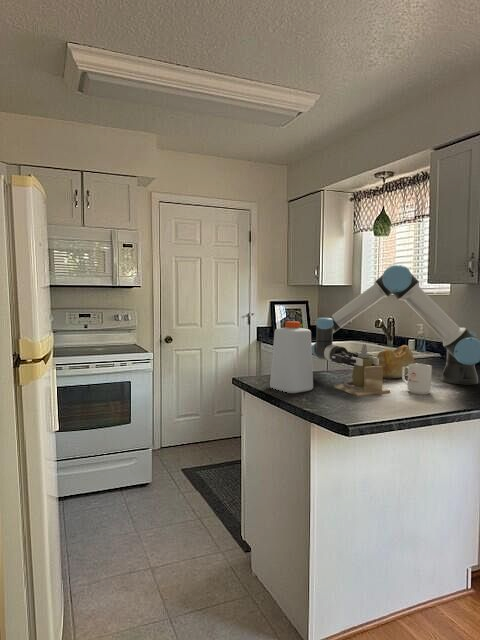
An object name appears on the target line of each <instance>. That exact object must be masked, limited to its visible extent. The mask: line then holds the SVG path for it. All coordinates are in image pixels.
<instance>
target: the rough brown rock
mask: <svg viewBox="0 0 480 640" xmlns="http://www.w3.org/2000/svg"><path fill="white" fill-rule="evenodd" d="M376 358H379V365H376V364H373V366H383V379H385V380H390V379H399V378H402V367H408V365H409V364H415V358H414V354H413V352H412V350H411V349H410V347H409V345H407V344H403V345H401V346H399V347H396V349H395V350H391V349H385V350H381V351H379V352H378V354H377V356H376ZM405 376H408V368H405Z"/></svg>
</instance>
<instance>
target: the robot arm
mask: <svg viewBox="0 0 480 640" xmlns="http://www.w3.org/2000/svg"><path fill="white" fill-rule="evenodd" d="M391 295H393V296H394V297H395V298H396V299H397V300H398V301H404V302H405V303H406V304H407V305H408V307H409V308H410V309H412V311H414V312H415V313H416V315H418V316H419V317H420V318H421V319H422V321H423V322H424V323H425V324H427V326H428V327H429V328H430V329H431V330H432V331H433V332H434V333H435V334H436V335H437V336H438V337H439V338H440V339H441V340H442V341H443V342H442V346H443V347H444V348H445V349H446V363H445V366H444V368H443V369H444V370H443V372H442V373H441V381H443V382H445V383H449V384H455V385H464V386H465V385H468V386H472V385H473V386H474V385H478V384H479V377H478V373H477V370H476V367H475V365H476V364H477V363H479V362H480V340H479V339H478V338H477V334H476V332H474V331H469V330H468V329H467V328H466V327H460V326H459V325H458V324H457V323H456V322H455V321H454V320H453V319H452V318H451V317H450V316H449V315H448V314H446V312H445V311H444V310H443V309H442V308H441V307H440V306H439V305H438V304H437V303H436V302H435V301H434V300H433V299H432V298H431V297H430V296H429V295H428V294H427V293H426V292H425V291H424V290H423V288H421V287H420V281H419V280H418V279H417V278H416V277H415V275H413V274H412V273H411V271H410V269H409V268H408V267H406V265H403V264H393V265H390V266H389V267H387V268H386V269H385V270H384V271H383V273H382V275H381V276H380V277H379V278H377V279H376V280H375V281H374V284H372V285H371V286H370V287H369V288H367V289H366V290H364V291H363V292H361V293H360V294H359V295H358V296H356V297H355V298H353V299H352V300H351V301H349V302H348V303H347V304H345V305H344V306H342V307H341V308H339V310H337V311H336V312H334V313H333V314H332V315H330V316H329V317H318V318H317V319H316V324H315V325H316V339H315V343H314V344H313V345H312V356H314V357H315V358H318V359H320V360H325V361H330V362H331V363H332V364H333V363H335V364H336V363H337V364H338V365H339V364H347V366H351V364H352V365H354V364H355V365H359V366H363V359H360V358H357V357H358V353H359V352H351V351H348V350H347V348H346V347H344V346H339V345H336V344H333V341H334V340H333V338H334V337H333V334H334V333H336V332H337V331H338V330H340V329H341V328H343V327H344V326H346V325H347V324H348V323H350V322H351V321H352V320H354V319H356V318H357V317H359V315H361V314H362V313H364V312H365V311H366V310H368V309H369V308H372V306H374V305H375V304H376V303H378V302H379V301H380V300H382V299H383V298H388V297H390V296H391ZM376 357H377V356H376ZM376 357H374V356H373V355H371V354H370V357H369V358H370V359H371V360H372V365H374V364H376V365H379V358H376Z"/></svg>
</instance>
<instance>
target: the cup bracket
mask: <svg viewBox="0 0 480 640" xmlns="http://www.w3.org/2000/svg"><path fill="white" fill-rule="evenodd" d="M383 379H384V378H383V366H374V365H372V366H370V367H365V369H364V387H356V386H354V384H353V380H346V381H344V382H343V383H342V384H333V388H334V389H337V390H340V391H343V392H346V393H348V394H352V395H354V396H357V397H360V396H361V397H362V396H370V395H379V394H382V395H383V394H390V393H391V390H390V389H388V388H387V389H386V388H384V387H383V381H384V380H383Z"/></svg>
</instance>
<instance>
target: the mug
mask: <svg viewBox="0 0 480 640" xmlns="http://www.w3.org/2000/svg"><path fill="white" fill-rule="evenodd" d="M405 368H408V374H407V380H406V377H405V376H406V375H405ZM432 371H433V366H432V365H430V364H424V363H414V364H409V365H408V367H402V377H401V379H402V381H403V383H405V385H406V386H407V390H408V392H409V393H411V394H414V395H428V394H429V393H431V391H432V375H433V372H432Z"/></svg>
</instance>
